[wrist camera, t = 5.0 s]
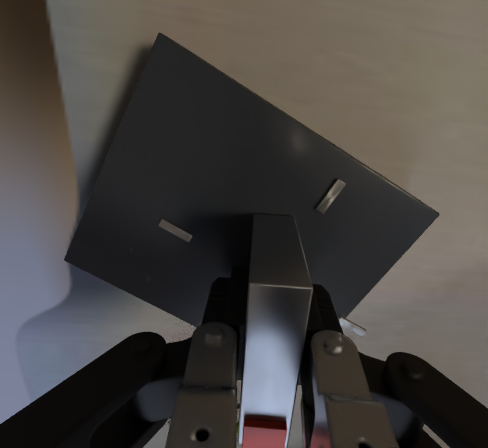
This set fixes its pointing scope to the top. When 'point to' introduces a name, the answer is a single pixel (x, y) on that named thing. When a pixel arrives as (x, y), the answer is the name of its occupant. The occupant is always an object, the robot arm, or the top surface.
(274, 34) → the top surface
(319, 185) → the panel
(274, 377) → the gray block
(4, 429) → the robot arm
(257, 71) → the top surface
